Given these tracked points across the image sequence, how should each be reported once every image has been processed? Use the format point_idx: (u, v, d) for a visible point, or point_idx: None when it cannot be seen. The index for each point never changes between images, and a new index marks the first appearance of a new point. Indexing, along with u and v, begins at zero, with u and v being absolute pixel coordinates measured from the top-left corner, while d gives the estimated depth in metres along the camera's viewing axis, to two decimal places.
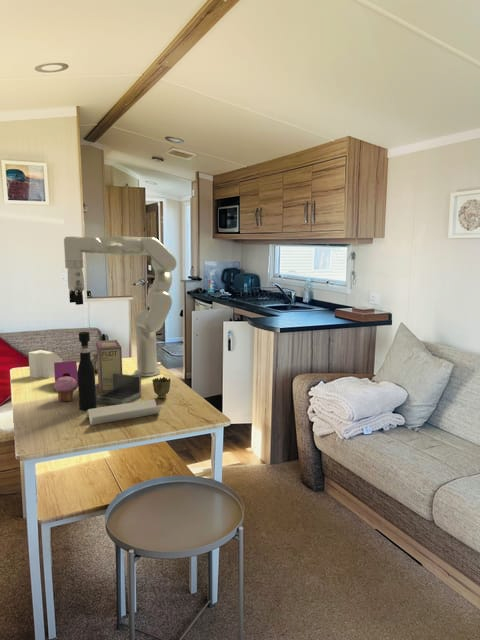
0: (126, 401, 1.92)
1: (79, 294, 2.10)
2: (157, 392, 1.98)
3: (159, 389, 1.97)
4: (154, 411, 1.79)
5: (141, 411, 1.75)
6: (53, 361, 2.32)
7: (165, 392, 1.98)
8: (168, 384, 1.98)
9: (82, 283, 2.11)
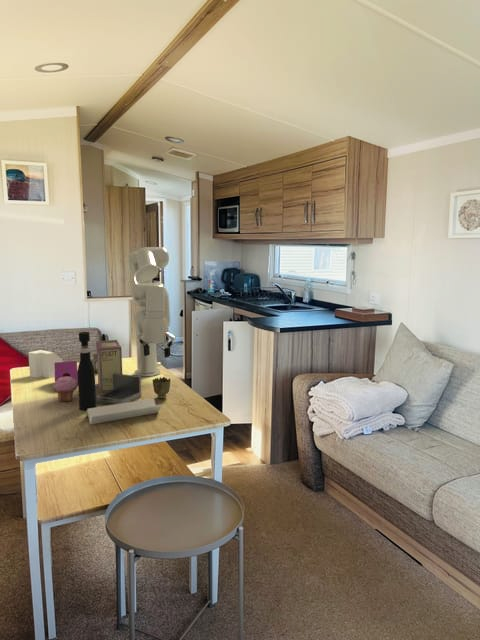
0: (126, 401, 1.92)
1: None
2: (157, 392, 1.98)
3: (159, 389, 1.97)
4: (153, 410, 1.80)
5: (141, 410, 1.76)
6: (53, 361, 2.32)
7: (165, 392, 1.98)
8: (168, 384, 1.98)
9: None
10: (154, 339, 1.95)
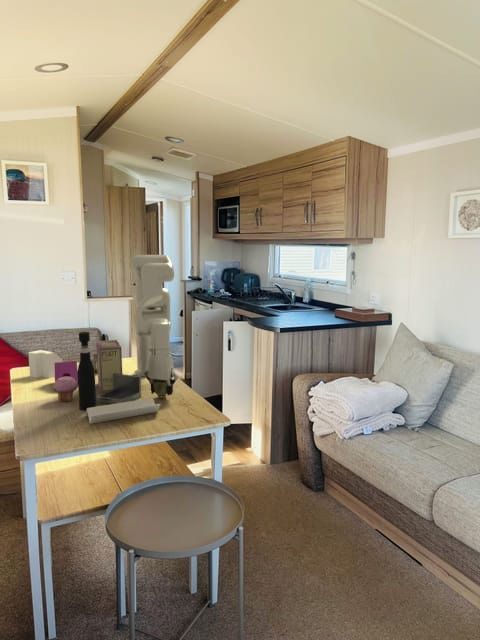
0: (126, 401, 1.92)
1: None
2: (157, 392, 1.98)
3: (159, 389, 1.97)
4: (153, 410, 1.81)
5: (140, 409, 1.77)
6: (53, 361, 2.32)
7: (165, 392, 1.98)
8: None
9: None
10: (159, 376, 1.96)
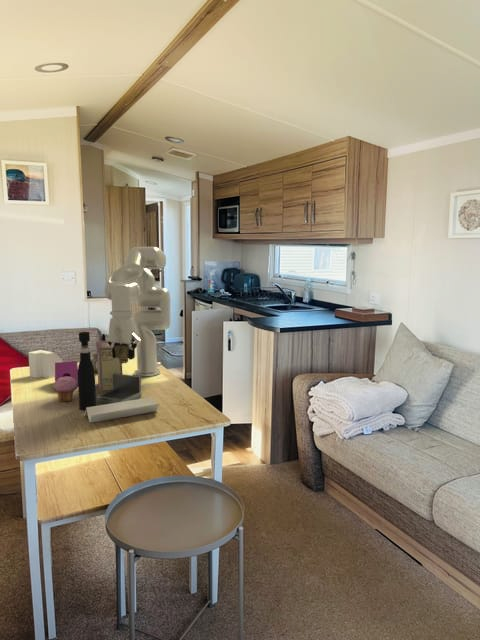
0: None
1: None
2: (118, 356, 1.93)
3: (120, 353, 1.92)
4: (152, 409, 1.82)
5: (139, 408, 1.78)
6: (53, 361, 2.32)
7: (127, 356, 1.93)
8: None
9: None
10: (120, 339, 1.92)
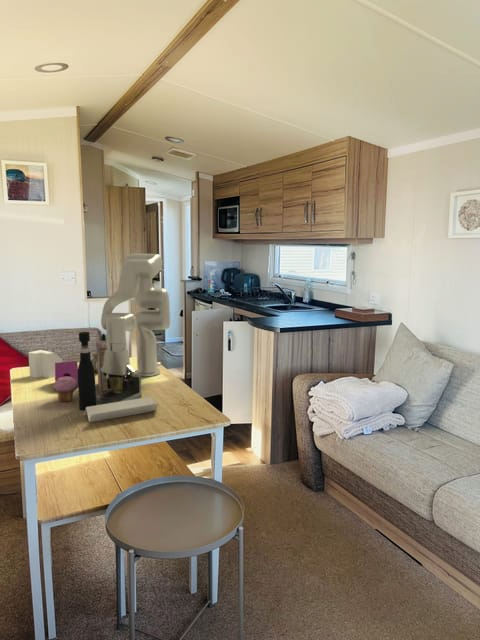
0: None
1: None
2: (113, 387, 1.94)
3: (115, 384, 1.94)
4: (151, 408, 1.83)
5: (139, 408, 1.78)
6: (53, 361, 2.32)
7: (121, 387, 1.95)
8: None
9: None
10: (115, 371, 1.93)
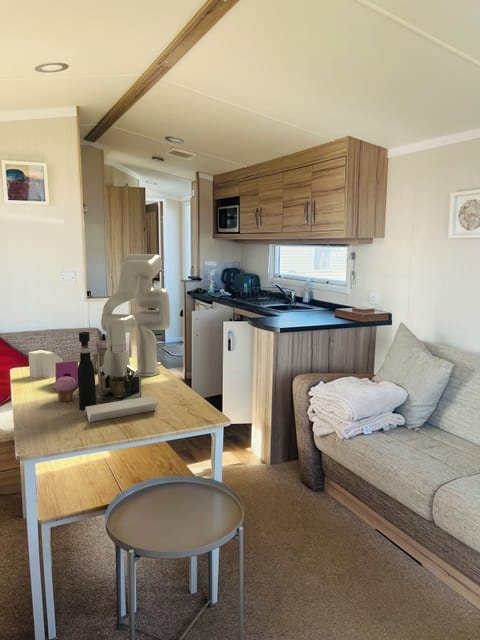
0: None
1: None
2: (113, 391, 1.95)
3: (115, 388, 1.94)
4: (151, 408, 1.83)
5: (138, 407, 1.79)
6: (53, 361, 2.32)
7: (121, 391, 1.95)
8: (124, 383, 1.96)
9: None
10: (115, 372, 1.93)
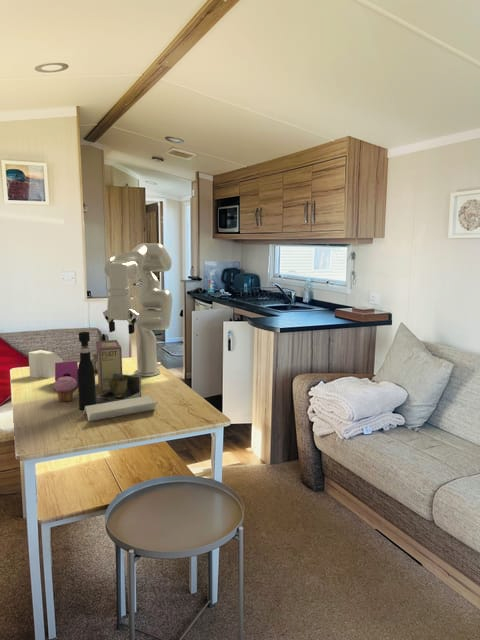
0: None
1: None
2: (113, 391, 1.95)
3: (115, 388, 1.94)
4: (150, 407, 1.84)
5: (138, 407, 1.80)
6: (53, 361, 2.32)
7: (121, 392, 1.95)
8: (124, 383, 1.96)
9: None
10: (118, 316, 2.00)
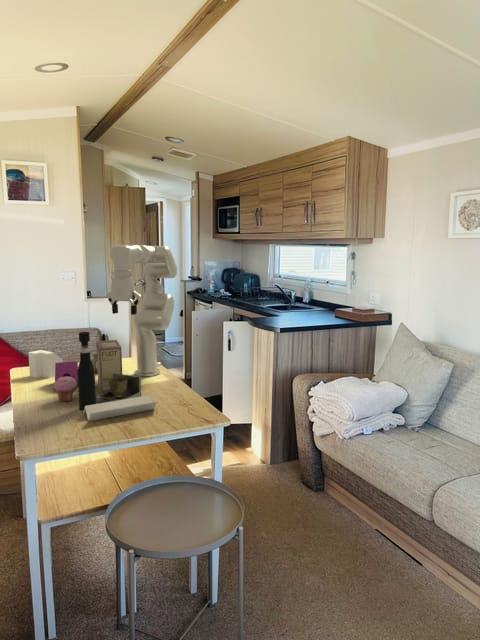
0: None
1: None
2: (113, 392, 1.95)
3: (115, 389, 1.94)
4: (150, 407, 1.84)
5: (137, 406, 1.80)
6: (53, 361, 2.32)
7: (121, 392, 1.95)
8: (124, 383, 1.95)
9: None
10: (121, 297, 2.06)
